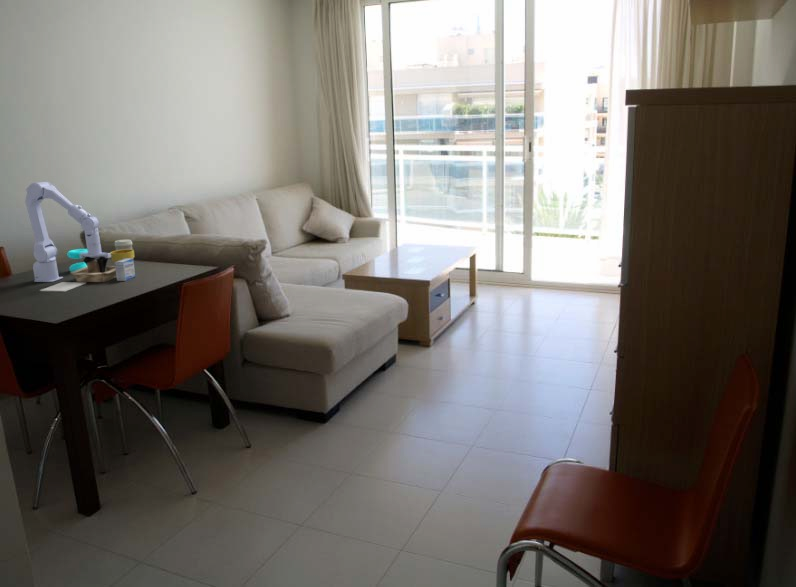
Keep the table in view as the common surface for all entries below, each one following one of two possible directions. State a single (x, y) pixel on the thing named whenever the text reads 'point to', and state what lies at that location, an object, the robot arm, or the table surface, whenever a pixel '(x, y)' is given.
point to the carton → (94, 275)
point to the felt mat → (63, 286)
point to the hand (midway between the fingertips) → (98, 273)
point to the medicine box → (125, 269)
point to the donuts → (75, 255)
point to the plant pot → (122, 254)
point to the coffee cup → (123, 244)
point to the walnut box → (94, 267)
